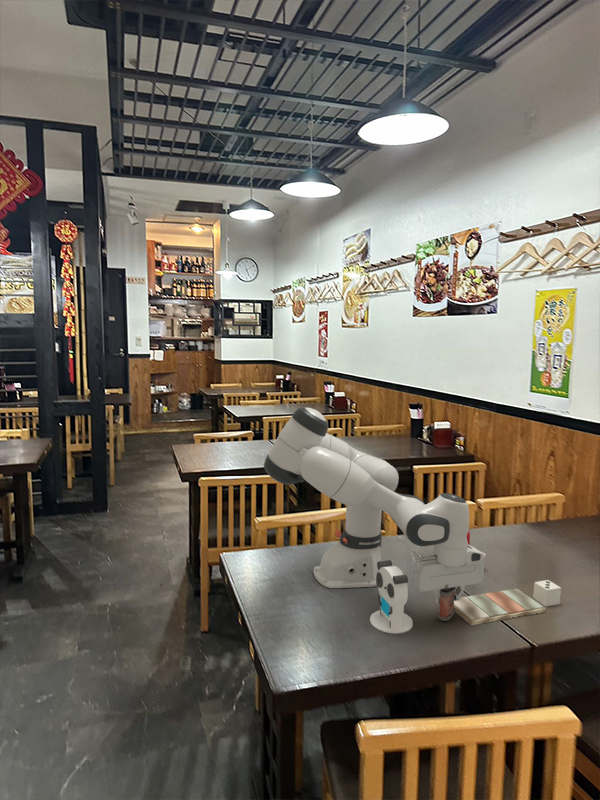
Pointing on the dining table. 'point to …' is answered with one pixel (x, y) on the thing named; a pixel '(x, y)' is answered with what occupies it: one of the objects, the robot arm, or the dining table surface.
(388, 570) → the panda figurine
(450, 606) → the lighter
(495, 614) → the game board
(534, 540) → the dining table surface
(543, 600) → the die
